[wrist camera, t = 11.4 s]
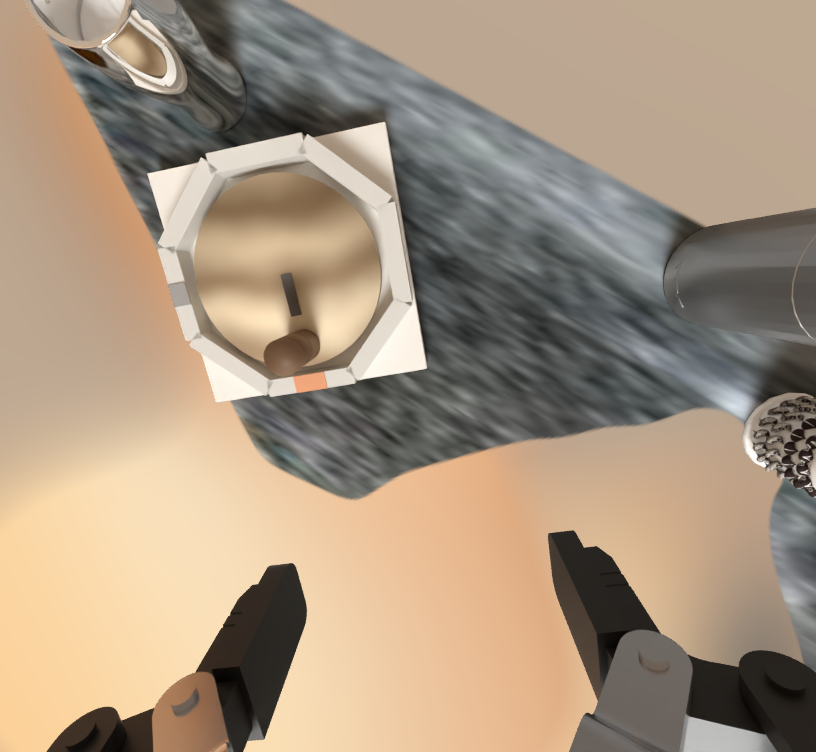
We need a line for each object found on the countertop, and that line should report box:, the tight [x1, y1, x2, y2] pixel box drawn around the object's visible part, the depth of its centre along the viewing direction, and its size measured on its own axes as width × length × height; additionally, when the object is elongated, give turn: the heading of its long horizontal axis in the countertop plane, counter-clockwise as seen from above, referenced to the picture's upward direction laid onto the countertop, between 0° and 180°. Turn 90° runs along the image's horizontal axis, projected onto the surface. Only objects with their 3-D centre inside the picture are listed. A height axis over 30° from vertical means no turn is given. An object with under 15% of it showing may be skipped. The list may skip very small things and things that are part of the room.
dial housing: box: [148, 122, 427, 402], centre depth 38 cm, size 22×22×4 cm
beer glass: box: [24, 0, 246, 132], centre depth 29 cm, size 7×7×15 cm
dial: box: [194, 172, 382, 376], centre depth 34 cm, size 17×17×8 cm
